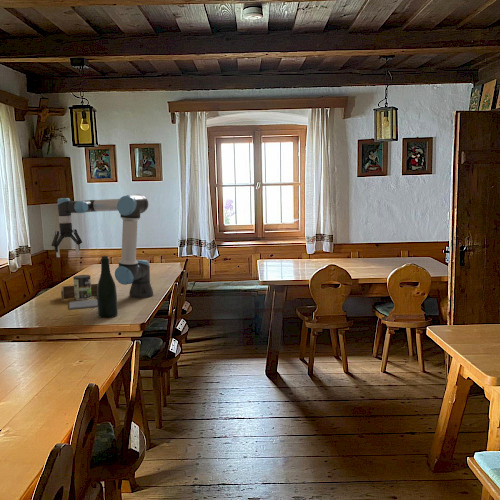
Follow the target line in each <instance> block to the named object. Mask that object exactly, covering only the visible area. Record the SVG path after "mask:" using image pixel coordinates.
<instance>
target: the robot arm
mask: <svg viewBox="0 0 500 500" xmlns="http://www.w3.org/2000/svg"><path fill="white" fill-rule="evenodd" d="M148 208H149V201H148V199H147V197H146V196H144V195H142V194H127V195H123V196H122V197H119V198H110V199H88V200H73V201H71V199H70V198H69V197H66V198H65V197H61V198H58V199H57V211H58V222H59V225H58V226H59V230H56V231H55V232H54V236H53V240H52V242H51V247H54V252H55V253H56V255H55V256H56V258H61V254H60V244H61V242H62V241H63V240H64V239H65V238H71V240H72V241H73V242H74V243H75V245H74V247H75V255H77V256H78V255H79V256H80V249H81V244H82V243H83V241H82V239H81V237H80V235H79V232H78V230H77V229H75V228H73V223H72V222H73V221H72V220H73V219H72V214H85V213H94V212H95V213H96V212H118V213H119V215H120V219H121V220H122V229H121V230H122V232H121V233H122V235H121V239H122V240H121V259H120V260H118V267H117V268H115V271H114V278H115V280H116V281H117V282H118V283H119V284H120V285H122V286H127V285H130V288H129V298H132V299H133V298H134V299H144V298H150V297H153V296H154V290H153V288H152V284H151V270H150V267H151V266H150V262H149V260H145V259H137V246H138V245H137V241H138V221H139V220H141V219H140V218H141V214H143V213H145V212H146V211H147V209H148Z"/></svg>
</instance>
